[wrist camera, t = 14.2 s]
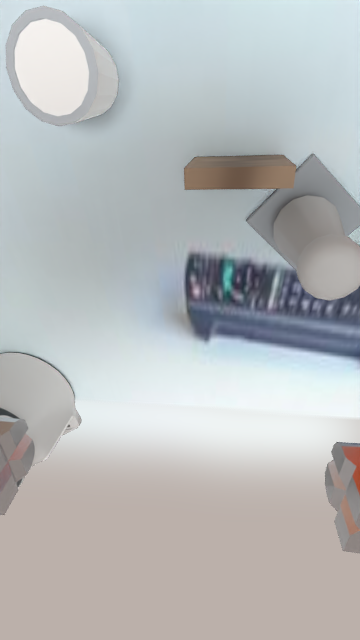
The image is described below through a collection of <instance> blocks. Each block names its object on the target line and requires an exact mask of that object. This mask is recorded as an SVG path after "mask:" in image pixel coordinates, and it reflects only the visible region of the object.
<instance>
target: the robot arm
mask: <svg viewBox="0 0 360 640" xmlns="http://www.w3.org/2000/svg"><path fill="white" fill-rule="evenodd" d="M80 423H81V418H80V416H79V414H78V412H77V411H76V408H75V399H74V394H73V391H72V389H71V387H70V385H69V383H68V382H67V381H66V379H65V378H64V377H63V376H62V375H61V374H60V373H59V372H58V371H57V370H56V369H55V368H53V367H52V366H50V365H49V364H47V363H46V362H44V361H42V360H40V359H38V358H35V357H32V356H29V355H26V354H21V353H3V354H0V515H4V514H5V513H6V511H7V509H8V507H9V505H10V504H11V502H12V500H13V499H14V497H15V495H16V493H17V491H18V487H19V485H21V483H22V482H23V480H24V478H25V476H26V475H27V473H28V471H29V470H30V468H31V466H34V465H35V464H37V463H39V462H42V461H43V460H46V459H47V458H48V457H49V456H50V454H51V452H52V450H53V449H54V447H55V446H56V444H57V443H58V441H59V439H60V438H61V436H62V435H64V434H66V433H68V432H70V431H72V430H74V429H76V428H78V426H79V425H80ZM332 455H333V458H334V460H332V461H331V462H329V463H328V464H327V468H326V471H325V486H326V492H327V497H328V500H329V503H330V504H331V505H332V506H333V507H334V508H335V509H336V511H337V512H338V513H337V516H336V518H335V525H336V529H337V532H338V536H339V539H340V542H341V546H342V550H343V551H347V552H354V553H360V444H358V443H342V442H337V443H335V444H334V446H333V449H332Z"/></svg>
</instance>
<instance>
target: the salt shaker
mask: <svg viewBox="0 0 360 640" xmlns="http://www.w3.org/2000/svg"><path fill="white" fill-rule="evenodd" d="M274 240H275V243H276V245H277V247H278V249H279V251H280V252H282V253H283V254H284V255H285V256H286V257H287V258H289V259H290V260H291V261H292V262H293V263H294V264H296V265H297V276H298V279H299V281H300V283H301V285H302V287H303V289H304V290H305V291H307V292H308V293H310V294H311V295H313V296H314V297H316V298H319V299H325V300H334V299H338V298H343V297H345V296H347V295H348V294H350V293H352V292H353V291H355V290H357V289H358V287H359V286H360V246H359V245H358V244H357V243H356V242H354V241H353V240H352V239H350V238H349V237H348V236H345V233H344V229H343V225H342V222H341V219H340V216H339V214H338V211H337V209H336V206H334V205H333V204H332V203H330V202H329V201H328V200H326V199H325V198H323V197H317V196H310V195H307V196H303V197H300V198H297V199H294V200H292V201H291V202H289V203H288V204H287V205H286V206H285V207H284V208H282V209H281V211H280V213H279V214H278V216H277V218H276V220H275V222H274Z"/></svg>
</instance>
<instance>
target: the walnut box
mask: <svg viewBox="0 0 360 640" xmlns="http://www.w3.org/2000/svg"><path fill="white" fill-rule="evenodd" d="M295 172H296V165H295V164H293V163H292V162H291V161H290V160H289V159H287V158H286V157H285V156H284V155H255V156H213V157H195V158H194V159H193V160H192V161H191V162H190V163H189V164H188V165H187V166H186V167H185V168H184V181H185V190H191V189H284V188H294V180H295Z"/></svg>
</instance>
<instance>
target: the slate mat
mask: <svg viewBox="0 0 360 640" xmlns="http://www.w3.org/2000/svg"><path fill="white" fill-rule="evenodd" d="M307 195H310V196H317V197H323V198H325V199H326V200H328V201H329V202H330V203H332V204H333V205H334V206H336V209H337V211H338V214H339V216H340V219H341V222H342V225H343V229H344V233H345V236H348V235H349V234H350V233H352V232H353V231H354V230H355V229H356V228H358V227H359V226H360V206H359V205H358V204H357V203H356V202H355V200H354V199H353V198H352V197H351V196H350V195H349V194H348V192H347V191H346V190H345V189H344V188H343V187H342V186H341V184H340V183H339V182H338V181H337V180H336V179H335V178H334V176H333V175H332V174H331V173H330V172H329V171H328V170H327V168H326V167H325V166H324V165H323V164H322V163H321V162H320V160H319V159H318V158H317V157H316V156H315V155H314V154H312V155H311V156H310V157H309V158H308V159H307V160H306V161H305V162H304V163H303V164H302V165H301V166H300V167H299V168H298V169H297V170H296V172H295V180H294V188H284V189H277V190H276V191H275V192H274V193H273V194H272V195H271V196H270V197H269V198H268V199H267V200H266V201H265V202H264V203H263V204H262V205H261V206H260V207H259V208H258V209H257V210H256V211H255V212H254V213H253V214H252V215H251V216H250V217H249V218H248V219H247V223H248V224H250V225H251V226H252V227H253V228H254V229H255V230H256V231H257V232H258V233H259V234H260V235H261V236H262V237H263V238H264V239H265V240H266V241H267V242H268V243H269V244H270V245H271V246H272V247H273V248H274V249H275V250H276V251H277V252H278V253H279V254H280V255H281V256H282V257H283V258H284V259H285V260H286V261H287V262H288V263H289V264H290V265H291V266H292V267H293V268H294V269H295V270H296V271H297V265H296V264H294V263H293V262H292V261H291V260H290V259H289V258H287V257H286V256H285V255H284V254H283V253H282V252H280V251H279V249H278V247H277V245H276V243H275V240H274V222H275V220H276V218H277V216H278V214H279V213H280V211H281V209H282V208H284V207H285V206H286V205H287V204H288V203H289V202H291V201H292V200H294V199H297V198H300V197H303V196H307Z"/></svg>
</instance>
